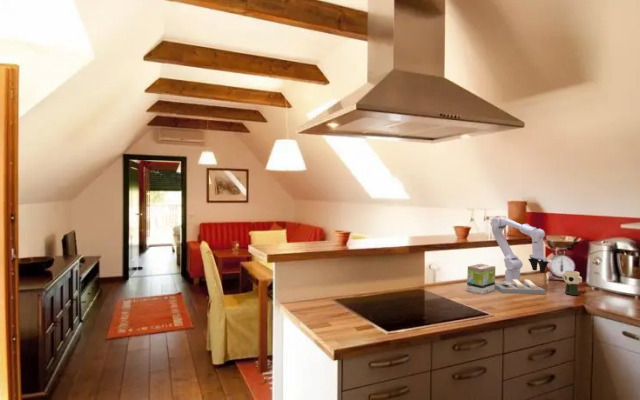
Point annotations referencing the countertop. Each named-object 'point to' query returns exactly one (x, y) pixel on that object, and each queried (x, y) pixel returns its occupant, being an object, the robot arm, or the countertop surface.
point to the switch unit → (518, 289)
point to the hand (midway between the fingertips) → (538, 271)
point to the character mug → (571, 281)
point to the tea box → (481, 278)
